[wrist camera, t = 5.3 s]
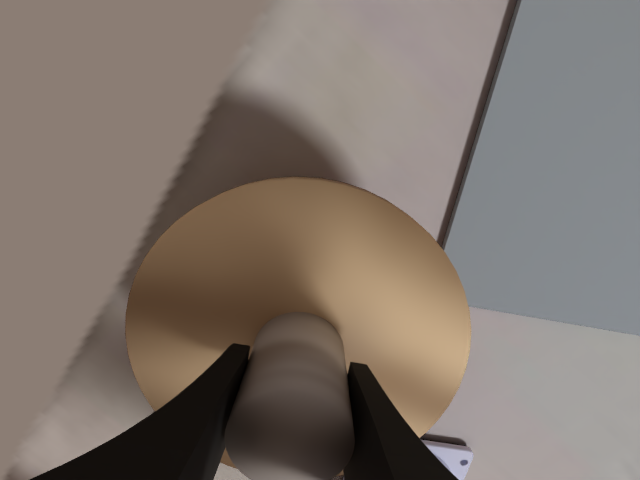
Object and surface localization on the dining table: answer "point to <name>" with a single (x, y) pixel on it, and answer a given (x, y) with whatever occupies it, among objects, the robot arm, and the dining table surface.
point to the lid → (299, 317)
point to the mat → (557, 171)
